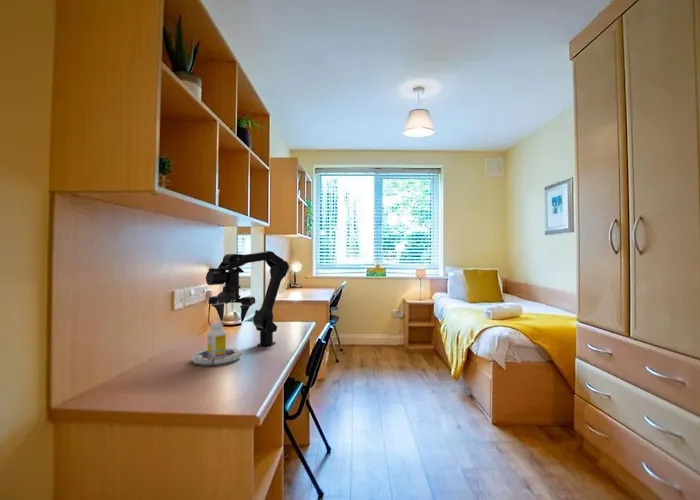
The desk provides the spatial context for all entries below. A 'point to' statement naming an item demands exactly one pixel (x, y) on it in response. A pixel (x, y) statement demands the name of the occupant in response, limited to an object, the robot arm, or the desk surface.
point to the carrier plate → (203, 360)
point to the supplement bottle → (216, 341)
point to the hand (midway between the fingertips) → (231, 321)
